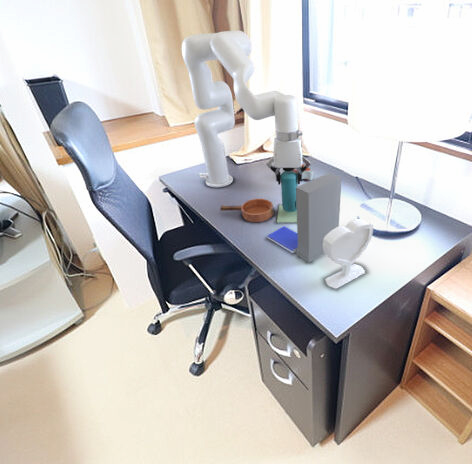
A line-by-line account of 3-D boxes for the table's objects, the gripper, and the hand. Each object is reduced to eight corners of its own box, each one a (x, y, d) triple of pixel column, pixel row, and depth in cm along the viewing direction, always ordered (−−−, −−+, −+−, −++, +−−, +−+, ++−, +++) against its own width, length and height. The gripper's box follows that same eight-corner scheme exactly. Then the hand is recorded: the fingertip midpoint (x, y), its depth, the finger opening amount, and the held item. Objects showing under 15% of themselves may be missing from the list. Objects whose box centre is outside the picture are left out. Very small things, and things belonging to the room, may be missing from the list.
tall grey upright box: (325, 237, 112) (327, 171, 98) (338, 245, 109) (342, 178, 94) (296, 254, 105) (293, 186, 90) (308, 263, 101) (308, 193, 87)
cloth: (276, 222, 121) (276, 222, 120) (279, 205, 131) (279, 204, 131) (303, 222, 120) (303, 222, 120) (303, 205, 131) (303, 204, 131)
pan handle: (220, 210, 124) (220, 207, 124) (221, 208, 126) (221, 205, 125) (242, 210, 124) (241, 207, 124) (242, 208, 126) (242, 205, 125)
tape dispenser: (297, 167, 166) (273, 179, 152) (297, 157, 163) (272, 168, 149) (326, 173, 157) (303, 186, 143) (326, 163, 154) (303, 175, 140)
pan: (240, 222, 121) (238, 214, 119) (245, 206, 131) (244, 198, 129) (271, 222, 121) (271, 214, 119) (274, 206, 131) (274, 198, 129)
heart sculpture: (330, 291, 91) (333, 241, 80) (320, 281, 94) (320, 232, 84) (369, 270, 98) (376, 221, 88) (358, 261, 101) (363, 213, 91)
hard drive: (309, 239, 109) (284, 225, 116) (292, 250, 104) (267, 235, 111) (309, 242, 110) (284, 229, 117) (292, 253, 105) (267, 239, 112)
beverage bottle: (297, 216, 122) (295, 167, 110) (280, 214, 123) (277, 166, 112) (300, 207, 127) (299, 160, 116) (284, 206, 128) (281, 159, 117)
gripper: (312, 131, 111) (312, 178, 121) (262, 131, 111) (267, 178, 121) (312, 138, 104) (312, 187, 115) (260, 139, 105) (264, 187, 115)
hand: (289, 182), depth 118 cm, fingers closed on beverage bottle, 6 cm apart
